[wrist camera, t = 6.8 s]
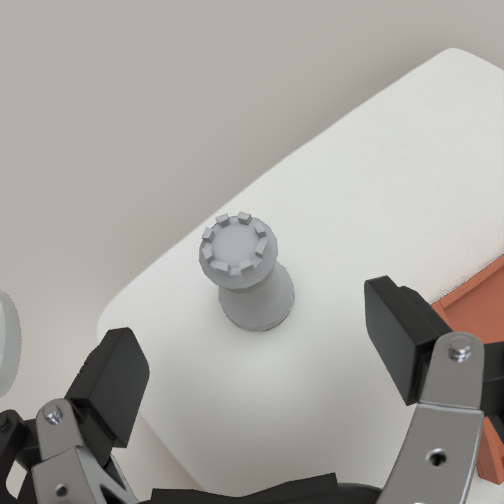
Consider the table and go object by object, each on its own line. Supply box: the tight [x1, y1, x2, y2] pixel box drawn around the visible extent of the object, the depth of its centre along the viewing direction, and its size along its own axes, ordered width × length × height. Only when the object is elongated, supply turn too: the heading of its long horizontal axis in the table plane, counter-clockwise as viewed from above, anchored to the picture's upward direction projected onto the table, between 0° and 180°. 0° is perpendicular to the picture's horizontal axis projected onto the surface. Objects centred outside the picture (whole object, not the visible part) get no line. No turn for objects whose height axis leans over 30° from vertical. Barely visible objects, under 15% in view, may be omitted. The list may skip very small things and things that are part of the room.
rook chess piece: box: [199, 211, 294, 331], centre depth 16 cm, size 4×4×8 cm
